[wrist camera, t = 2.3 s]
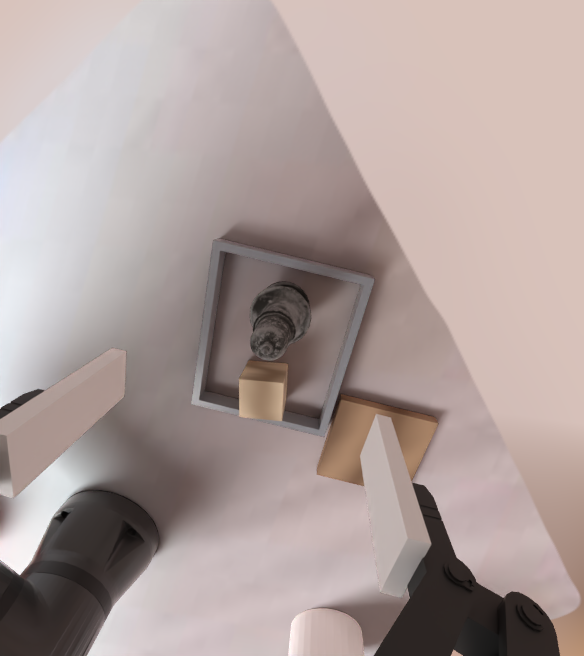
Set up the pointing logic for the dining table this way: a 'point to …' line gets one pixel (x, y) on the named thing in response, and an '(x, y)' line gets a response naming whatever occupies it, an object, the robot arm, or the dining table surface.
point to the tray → (208, 324)
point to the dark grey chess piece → (278, 319)
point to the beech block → (263, 390)
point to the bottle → (325, 634)
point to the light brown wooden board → (354, 428)
